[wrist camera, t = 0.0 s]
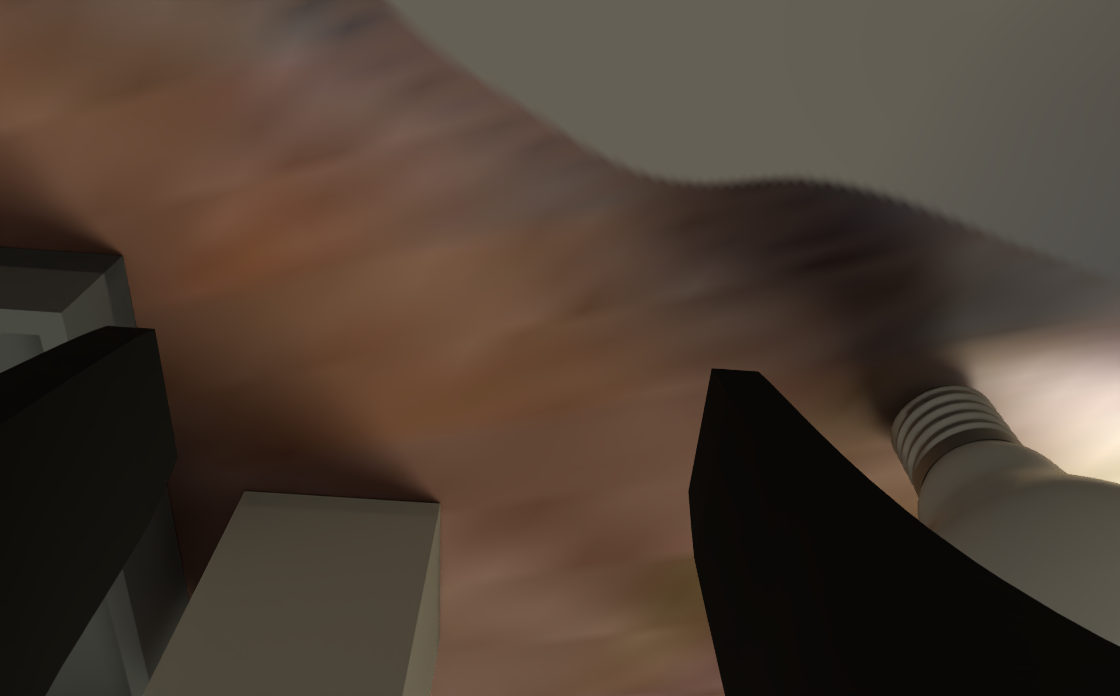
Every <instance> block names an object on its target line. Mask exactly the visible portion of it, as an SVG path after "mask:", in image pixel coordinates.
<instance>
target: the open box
mask: <svg viewBox="0 0 1120 696" xmlns="http://www.w3.org/2000/svg"><path fill="white" fill-rule="evenodd" d="M439 635H440V504H438V503H423V502H407V501H392V500H376V499H360V498H345V497H329V496H313V495H298V494H282V493H266V492H251V491H244V493H243V495H242V497H241V499H240V501H239V503H238V505H237V507H236V509H235V511H234V513H233V515H232V517H231V519H230V521H229V523H228V525H227V527H226V529H225V531H224V533H223V535H222V537H221V539H220V541H219V543H218V545H217V547H216V549H215V551H214V553H213V555H212V557H211V559H210V561H209V563H208V565H207V567H206V569H205V571H204V573H203V575H202V577H201V579H200V581H199V583H198V585H197V587H196V589H195V591H194V593H193V595H192V597H191V599H190V601H189V603H188V605H187V607H186V609H185V611H184V613H183V615H182V617H181V619H180V621H179V623H178V625H177V627H176V629H175V631H174V633H173V635H172V637H171V639H170V641H169V643H168V645H167V647H166V649H165V651H164V653H163V655H162V657H161V659H160V661H159V663H158V665H157V667H156V669H155V671H154V673H153V675H152V677H151V679H150V681H149V683H148V685H147V687H146V689H145V691H144V693H143V695H142V696H430V694H431V687H432V681H433V675H434V669H435V663H436V657H437V651H438V645H439Z"/></svg>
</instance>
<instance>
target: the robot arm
mask: <svg viewBox="0 0 1120 696" xmlns="http://www.w3.org/2000/svg"><path fill="white" fill-rule="evenodd" d="M177 458H178V457H177V451H176V446H175V440H174V434H173V429H172V423H171V418H170V412H169V406H168V401H167V395H166V389H165V384H164V378H163V372H162V367H161V361H160V356H159V350H158V344H157V339H156V333H155V329H147V328H133V327H119V326H105V327H102V328H99V329H96V330H93V331H91V332H88V333H86V334H83V335H81V336H78V337H76V338H74V339H72V340H69V341H67V342H65V343H63V344H60V345H58V346H56V347H54V348H52V349H50V350H48V351H45V352H43V353H41V354H39V355H37V356H35V357H33V358H31V359H29V360H26V361H24V362H22V363H20V364H18V365H16V366H14V367H12V368H10V369H8V370H5V371H3V372H1V373H0V696H46V694H47V692H48V691H49V689H50V687H51V685H52V684H53V682H54V680H55V678H56V676H57V675H58V673H59V671H60V669H61V667H62V666H63V664H64V663H65V661H66V659H67V658H68V656H69V654H70V653H71V651H72V650H73V648H74V646H75V645H76V643H77V642H78V640H79V638H80V637H81V635H82V633H83V632H84V630H85V629H86V627H87V625H88V624H89V622H90V620H91V619H92V617H93V616H94V614H95V612H96V611H97V609H98V608H99V606H100V604H101V603H102V601H103V599H104V598H105V596H106V595H107V593H108V591H109V590H110V588H111V587H112V585H113V583H114V582H115V580H116V578H117V577H118V575H119V574H120V572H121V570H122V569H123V567H124V565H125V564H126V562H127V560H128V559H129V557H130V555H131V554H132V552H133V550H134V549H135V547H136V545H137V544H138V542H139V541H140V539H141V537H142V535H143V534H144V532H145V530H146V529H147V527H148V525H149V523H150V522H151V519H152V517H153V515H154V513H155V510H156V508H157V506H158V504H159V501H160V499H161V497H162V495H163V492H164V490H165V487H166V485H167V482H168V480H169V477H170V475H171V472H172V470H173V468H174V465H175V463H176V460H177ZM689 504H690V517H691V529H692V540H693V550H694V559H695V563H696V568H697V573H698V577H699V582H700V586H701V591H702V596H703V600H704V605H705V609H706V614H707V618H708V622H709V627H710V631H711V636H712V640H713V644H714V649H715V653H716V658H717V662H718V666H719V671H720V675H721V680H722V684H723V688H724V693H725V696H1120V646H1118V645H1116V644H1114V643H1112V642H1110V641H1108V640H1106V639H1104V638H1102V637H1100V636H1098V635H1097V634H1095V633H1093V632H1091V631H1089V630H1088V629H1086V628H1084V627H1082V626H1080V625H1079V624H1077V623H1075V622H1073V621H1071V620H1070V619H1068V618H1066V617H1064V616H1062V615H1061V614H1059V613H1057V612H1055V611H1054V610H1052V609H1050V608H1049V607H1047V606H1045V605H1044V604H1042V603H1041V602H1039V601H1037V600H1036V599H1034V598H1032V597H1031V596H1029V595H1027V594H1026V593H1024V592H1022V591H1021V590H1019V589H1018V588H1016V587H1014V586H1013V585H1011V584H1009V583H1008V582H1006V581H1004V580H1003V579H1001V578H1000V577H998V576H997V575H995V574H994V573H992V572H991V571H989V570H987V569H986V568H984V567H983V566H981V565H980V564H978V563H977V562H975V561H974V560H972V559H971V558H970V557H968V556H967V555H965V554H964V553H963V552H961V551H960V550H959V549H957V548H956V547H954V546H953V545H952V544H950V543H949V542H947V541H946V540H945V539H943V538H942V537H940V536H939V535H938V534H936V533H935V532H933V531H932V530H931V529H929V528H928V527H927V526H925V525H924V524H923V523H921V522H920V521H919V520H918V519H916V518H915V517H914V516H912V515H911V514H910V513H909V512H907V511H906V510H905V509H904V508H903V507H901V506H900V505H899V504H898V503H897V502H895V501H894V500H893V499H892V498H891V497H890V496H888V495H887V494H886V493H885V492H884V491H882V490H881V489H880V488H879V487H878V486H877V485H875V484H874V483H873V482H872V481H871V480H869V479H868V478H867V477H866V476H865V475H864V474H863V473H862V472H861V471H860V470H858V469H857V468H856V467H855V466H854V465H853V464H852V463H851V462H850V461H849V460H847V459H846V458H845V457H844V456H843V455H842V454H841V453H840V452H839V451H838V450H837V449H836V448H835V447H834V446H833V445H832V444H831V443H830V442H829V441H828V440H826V439H825V438H824V437H823V436H822V435H821V434H820V433H819V432H818V431H817V430H816V429H815V428H814V427H813V426H812V425H811V424H810V423H809V422H808V421H807V420H806V419H805V418H804V417H803V416H802V415H801V414H800V413H799V412H798V411H797V409H796V408H795V407H794V406H793V405H792V404H791V403H790V402H789V401H788V400H787V399H786V398H785V397H784V396H783V395H782V394H781V393H780V392H779V391H778V390H777V389H776V388H775V387H774V386H773V385H772V384H771V383H770V382H769V381H768V380H767V379H766V378H765V377H764V376H762V375H761V374H760V373H759V372H755V371H741V370H727V369H713V368H712V370H711V376H710V381H709V386H708V391H707V397H706V402H705V407H704V412H703V418H702V423H701V428H700V434H699V439H698V444H697V449H696V455H695V460H694V465H693V470H692V476H691V481H690V486H689Z"/></svg>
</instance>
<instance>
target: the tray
mask: <svg viewBox="0 0 1120 696" xmlns="http://www.w3.org/2000/svg"><path fill="white" fill-rule="evenodd" d="M105 326H119V327H133V328H136V322H135V317H134V312H133V307H132V302H131V296H130V291H129V286H128V281H127V276H126V270H125V265H124V260H123V256H120V255H105V254H91V253H77V252H63V251H49V250H35V249H20V248H6V247H0V373H1V372H3V371H5V370H8V369H10V368H12V367H14V366H16V365H18V364H20V363H22V362H24V361H26V360H29V359H31V358H33V357H35V356H37V355H39V354H41V353H43V352H45V351H48V350H50V349H52V348H54V347H56V346H58V345H60V344H63V343H65V342H67V341H69V340H72V339H74V338H76V337H78V336H81V335H83V334H86V333H88V332H91V331H93V330H96V329H99V328H102V327H105ZM188 603H189V598H188V593H187V588H186V583H185V578H184V572H183V567H182V562H181V557H180V552H179V546H178V541H177V536H176V531H175V526H174V520H173V515H172V510H171V505H170V499H169V494H168V489H167V485H166V487H165V490H164V492H163V495H162V497H161V499H160V501H159V504H158V506H157V508H156V510H155V513H154V515H153V517H152V519H151V522H150V523H149V525H148V527H147V529H146V530H145V532H144V534H143V535H142V537H141V539H140V541H139V542H138V544H137V545H136V547H135V549H134V550H133V552H132V554H131V555H130V557H129V559H128V560H127V562H126V564H125V565H124V567H123V569H122V570H121V572H120V574H119V575H118V577H117V578H116V580H115V582H114V583H113V585H112V587H111V588H110V590H109V591H108V593H107V595H106V596H105V598H104V599H103V601H102V603H101V604H100V606H99V608H98V609H97V611H96V612H95V614H94V616H93V617H92V619H91V620H90V622H89V624H88V625H87V627H86V629H85V630H84V632H83V633H82V635H81V637H80V638H79V640H78V642H77V643H76V645H75V646H74V648H73V650H72V651H71V653H70V654H69V656H68V658H67V659H66V661H65V663H64V664H63V666H62V667H61V669H60V671H59V673H58V675H57V676H56V678H55V680H54V682H53V684H52V685H51V687H50V689H49V691H48V692H47V694H46V696H142V695H143V693H144V691H145V689H146V687H147V685H148V683H149V681H150V679H151V677H152V675H153V673H154V671H155V669H156V667H157V665H158V663H159V661H160V659H161V657H162V655H163V653H164V651H165V649H166V647H167V645H168V643H169V641H170V639H171V637H172V635H173V633H174V631H175V629H176V627H177V625H178V623H179V621H180V619H181V617H182V615H183V613H184V611H185V609H186V607H187V605H188Z"/></svg>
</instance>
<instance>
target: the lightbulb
mask: <svg viewBox="0 0 1120 696" xmlns="http://www.w3.org/2000/svg"><path fill="white" fill-rule="evenodd" d="M891 443H892V446H893V449H894V451H895V453H896V454H897V456H898V458H899V460H900V462H901V464H902V465H903V467H904V470H905V472H906V473H907V475H908V477H909V479H910V481H911V483H912V484H913V486H914V489H915V491H916V493H917V495H918V497H919V499H918V520H919V521H920V522H921V523H923V524H924V525H925V526H927V527H928V528H929V529H931V530H932V531H933V532H935V533H936V534H938V535H939V536H940V537H942V538H943V539H945V540H946V541H947V542H949V543H950V544H952V545H953V546H954V547H956V548H957V549H959V550H960V551H961V552H963V553H964V554H965V555H967V556H968V557H970V558H971V559H972V560H974V561H975V562H977V563H978V564H980V565H981V566H983V567H984V568H986V569H987V570H989V571H991V572H992V573H994V574H995V575H997V576H998V577H1000V578H1001V579H1003V580H1004V581H1006V582H1008V583H1009V584H1011V585H1013V586H1014V587H1016V588H1018V589H1019V590H1021V591H1022V592H1024V593H1026V594H1027V595H1029V596H1031V597H1032V598H1034V599H1036V600H1037V601H1039V602H1041V603H1042V604H1044V605H1045V606H1047V607H1049V608H1050V609H1052V610H1054V611H1055V612H1057V613H1059V614H1061V615H1062V616H1064V617H1066V618H1068V619H1070V620H1071V621H1073V622H1075V623H1077V624H1079V625H1080V626H1082V627H1084V628H1086V629H1088V630H1089V631H1091V632H1093V633H1095V634H1097V635H1098V636H1100V637H1102V638H1104V639H1106V640H1108V641H1110V642H1112V643H1114V644H1116V645H1118V646H1120V484H1118V483H1114V482H1110V481H1106V480H1101V479H1096V478H1091V477H1085V476H1079V475H1072V474H1067V473H1066V472H1064V471H1063V470H1062V469H1061V468H1059V467H1058V466H1057V465H1056V464H1054V463H1053V462H1052V461H1051V460H1049V459H1048V458H1046V457H1045V456H1043V455H1042V454H1040V453H1038V452H1036V451H1034V450H1032V449H1030V448H1028V447H1025V446H1023V444H1022V443H1021V442H1020V441H1019V440H1018V438H1017V437H1016V435H1015V434H1014V433H1013V432H1012V431H1011V429H1010V427H1009V426H1008V424H1007V423H1006V422H1005V421H1004V420H1003V418H1002V416H1001V415H1000V414H999V413H998V412H997V410H996V408H995V407H994V406H993V404H992V403H991V402H990V401H989V399H988V398H987V397H986V396H985V395H983V394H982V393H981V392H979V391H977V390H975V389H973V388H970V387H966V386H959V385H949V386H941V387H937V388H933V389H930V390H928V391H925V392H923V393H921V394H919V395H918V396H916V397H914V398H913V399H912V400H910V401H909V402H908V403H907V404H906V405H905V406H904V407H903V408H902V409H901V410H900V411H899V413H898V414H897V416H896V418H895V419H894V422H893V424H892V428H891Z"/></svg>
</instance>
